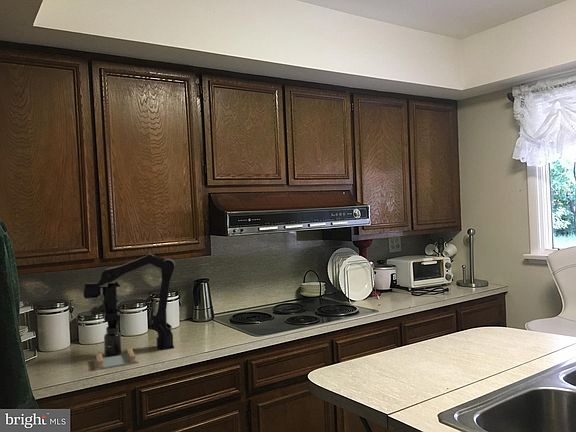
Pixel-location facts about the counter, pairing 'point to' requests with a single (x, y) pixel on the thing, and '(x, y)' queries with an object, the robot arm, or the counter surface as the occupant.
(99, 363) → the cradle rails
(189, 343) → the counter surface
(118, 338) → the supplement bottle
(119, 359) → the rubber mat
